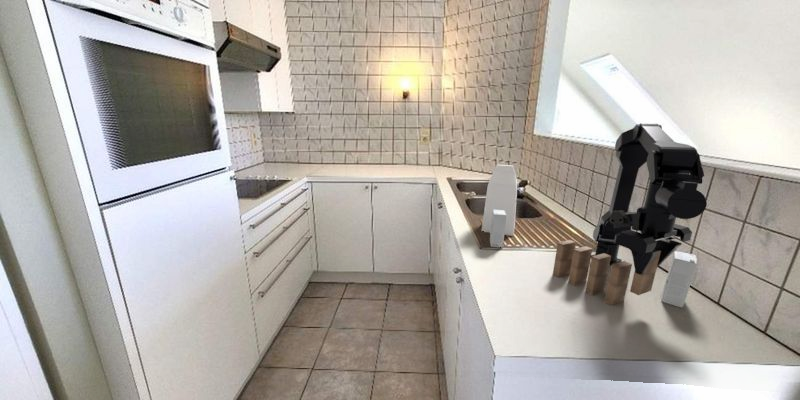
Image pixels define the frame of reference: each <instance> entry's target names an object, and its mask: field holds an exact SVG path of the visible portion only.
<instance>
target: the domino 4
mask: <svg viewBox="0 0 800 400" xmlns="http://www.w3.org/2000/svg"><path fill="white" fill-rule="evenodd" d="M610 266H611V267H610V272H609V275H608V276H609V277H608V281H607V286H606V290H605V296H604V301H603V302H604V303H606V304H608V305H611V306H613V305H616V304H620V303H622V302H624V301H625V298H626V294H627V293H626V292H627V288H628V284H629V281H630V275H631V271H632V267H633V263H631V262H628V261H626V260H624V261H621V262H618V263H615V264H611V265H610Z"/></svg>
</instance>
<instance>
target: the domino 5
mask: <svg viewBox="0 0 800 400" xmlns="http://www.w3.org/2000/svg"><path fill="white" fill-rule="evenodd" d="M660 253H661V251H659V252H658V254H657V255H656V256H655V258H654V259H653V260H652V262H651V263H650V264H649V266H648V267H647V268H646V270H645V271H644V272H643V273H642V274H641V275H640V274H637V273H636V272H635V271H634V272H633V277H632V282H631V285H630V290H629V291H630V293H633V294H634V295H637V296H641V295H643V294H646V293H648V292H651V291H652V288H653V284H654V280H655V276H656V273H657V268H658V267H657V265H658V261H659V257H660Z"/></svg>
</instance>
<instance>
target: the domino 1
mask: <svg viewBox="0 0 800 400" xmlns="http://www.w3.org/2000/svg"><path fill="white" fill-rule="evenodd" d="M575 245H576V241H574V240H572V239H567V240H562V241H558V242H557V246H556V252H555V258H554V264H553V271H552V276H554V277H556V278H562V277H564V276H568V275H570V269H571V263H572V258H573V252H574V249H576V247H575Z"/></svg>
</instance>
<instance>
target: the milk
mask: <svg viewBox="0 0 800 400" xmlns="http://www.w3.org/2000/svg"><path fill="white" fill-rule="evenodd" d="M517 194H518V180H517V175H516V170H515V168H514V165H510V164H509V165H508V164H496V166H495V168H494V169H493V172H492V174H491V176H490V179H489V181H488V184H487V189H486V194H485V202H484V210H483V218H482V224H481V232H482V231H484V232H483V233H490V232H491V223H492V213H493V210H504V211H505V213H506V215H507V216H506V225H505V234H504V236H505V235H506V236H510V237H511V236H512V237H514V235H515V226H516V215H517V213H516V212H517V211H516V210H517V197H518V196H517Z"/></svg>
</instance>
